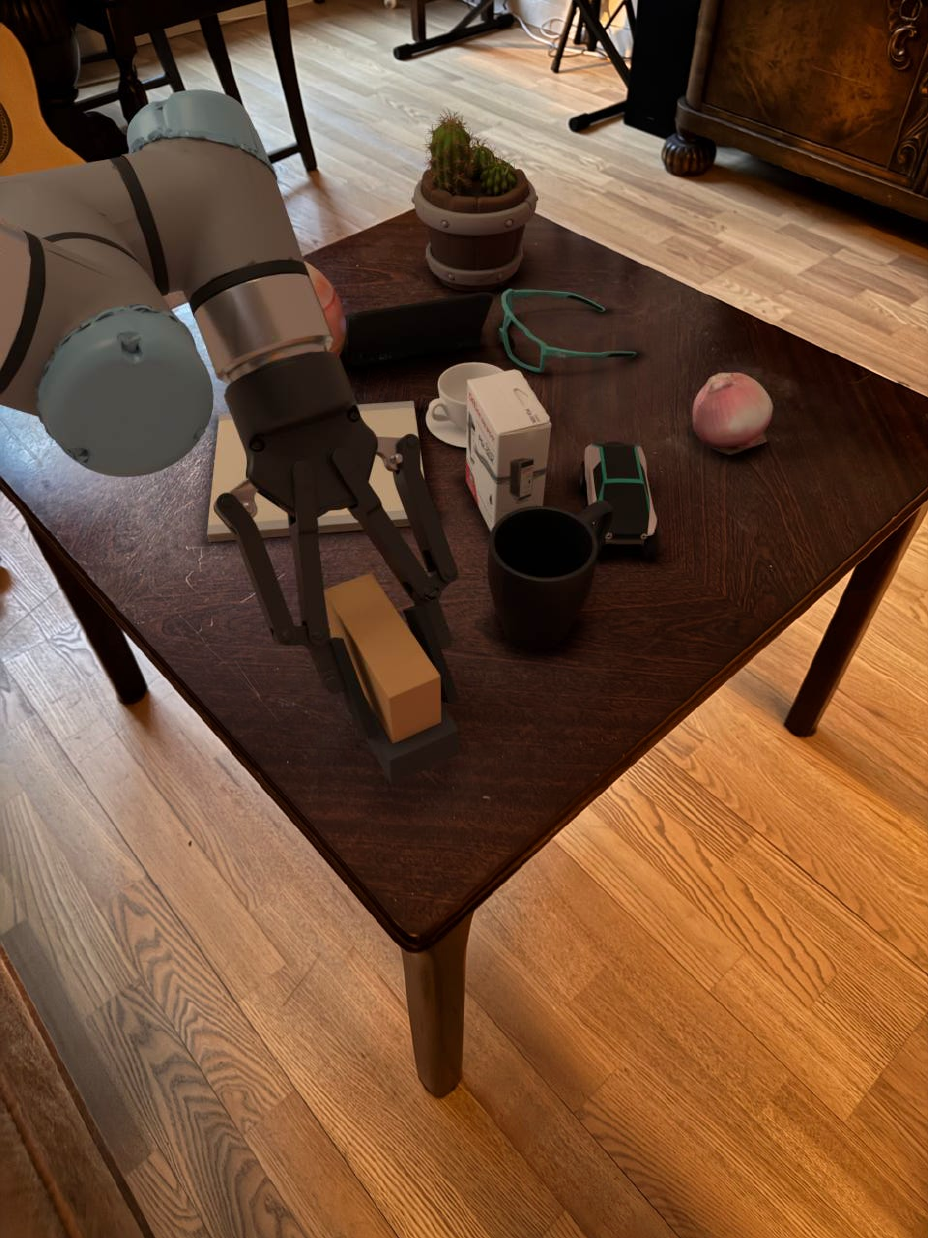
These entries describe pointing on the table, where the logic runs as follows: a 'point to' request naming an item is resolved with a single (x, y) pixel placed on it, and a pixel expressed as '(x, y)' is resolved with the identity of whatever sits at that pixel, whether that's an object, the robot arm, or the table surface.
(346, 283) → the table surface
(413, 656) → the eraser
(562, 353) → the sunglasses
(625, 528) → the toy car
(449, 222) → the flowerpot
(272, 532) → the board
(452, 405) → the teacup
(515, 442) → the ink box
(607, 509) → the mug
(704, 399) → the onion
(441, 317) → the game console
